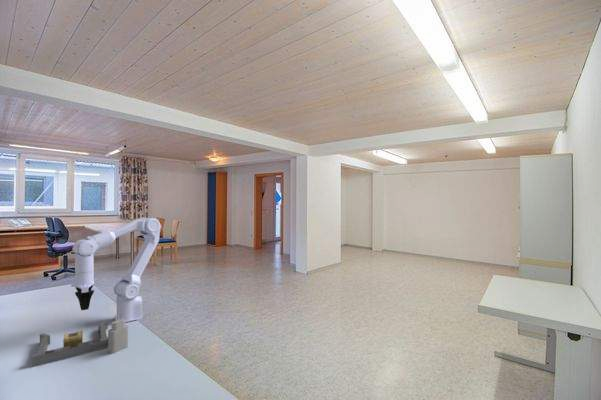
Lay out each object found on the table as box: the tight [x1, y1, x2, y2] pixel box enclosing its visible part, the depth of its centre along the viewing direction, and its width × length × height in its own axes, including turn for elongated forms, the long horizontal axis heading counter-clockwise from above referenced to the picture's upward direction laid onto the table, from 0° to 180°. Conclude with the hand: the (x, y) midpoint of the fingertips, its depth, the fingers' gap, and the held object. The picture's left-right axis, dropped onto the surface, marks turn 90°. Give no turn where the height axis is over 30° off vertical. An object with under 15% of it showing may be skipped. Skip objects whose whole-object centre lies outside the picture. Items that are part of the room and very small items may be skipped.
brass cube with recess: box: [63, 330, 84, 347], centre depth 99 cm, size 5×4×5 cm
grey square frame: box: [31, 320, 109, 368], centre depth 101 cm, size 20×19×3 cm
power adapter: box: [107, 314, 129, 354], centre depth 99 cm, size 3×5×12 cm, turn 153°
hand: (84, 306), depth 111 cm, fingers open, 7 cm apart
